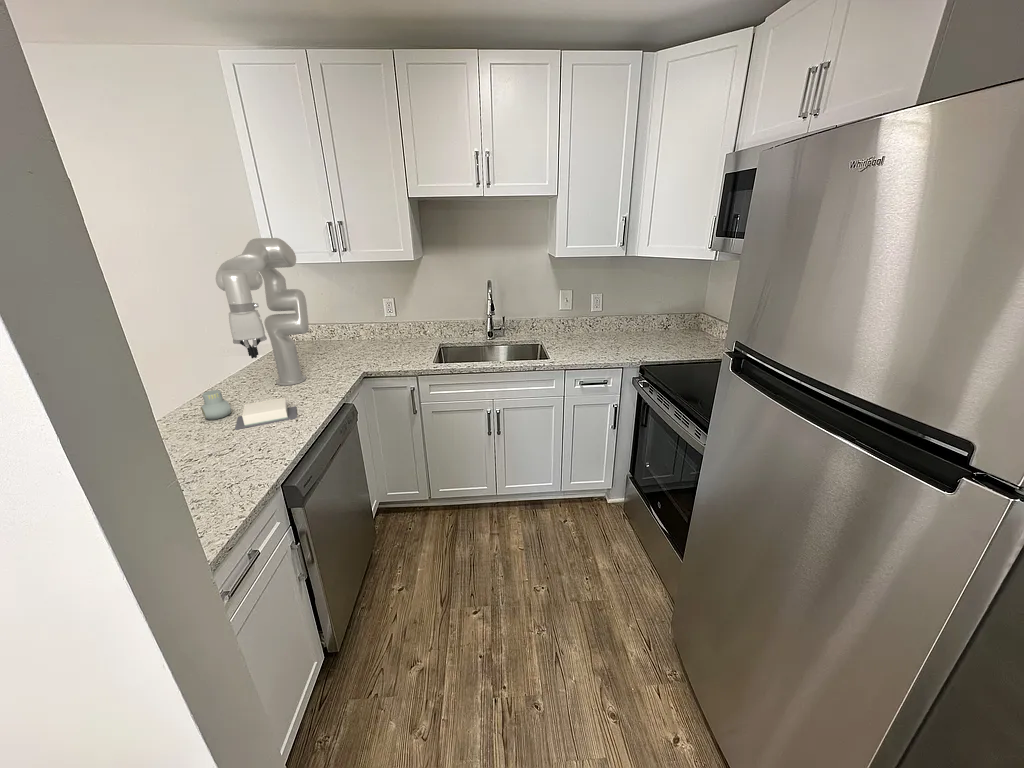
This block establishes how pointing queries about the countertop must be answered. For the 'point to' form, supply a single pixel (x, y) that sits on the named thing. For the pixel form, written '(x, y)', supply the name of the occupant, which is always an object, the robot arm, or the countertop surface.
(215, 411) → the air freshener
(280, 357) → the robot arm
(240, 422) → the mat
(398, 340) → the countertop surface
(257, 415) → the tile
